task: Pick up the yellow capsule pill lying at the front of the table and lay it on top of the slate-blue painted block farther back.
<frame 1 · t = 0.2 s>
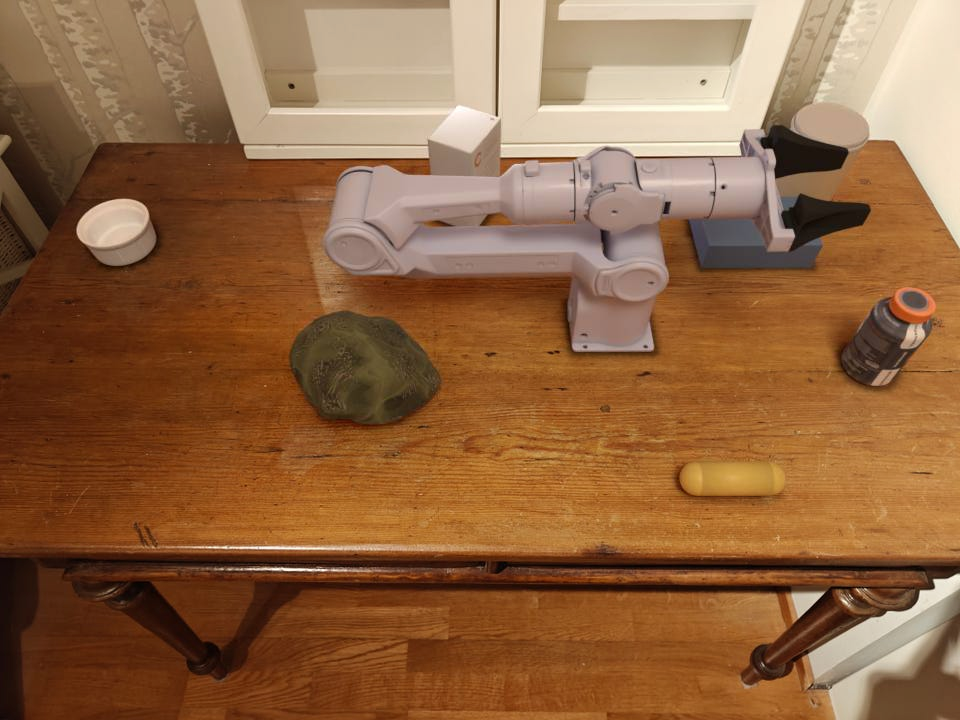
hand: (854, 185, 66), 21 cm above the table, tool horizontal, fingers open, 7 cm apart
block: (748, 243, 92), on the table
ramekin: (127, 247, 93), on the table
yellow capsule pill: (732, 478, 70), point 2 cm above the table
decorative rock: (367, 383, 79), on the table
coffee cup: (797, 198, 97), on the table
pill bottle: (866, 367, 80), on the table
small box: (467, 210, 96), on the table
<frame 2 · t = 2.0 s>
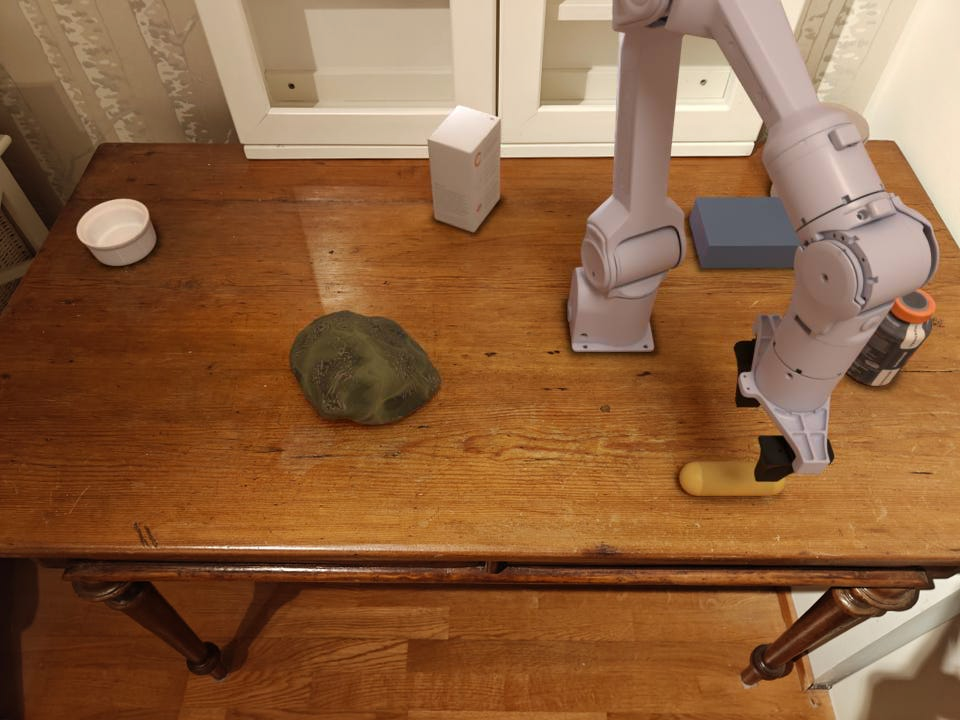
hand: (756, 440, 63), 9 cm above the table, tool pointing down, fingers open, 7 cm apart
nothing on the table moved.
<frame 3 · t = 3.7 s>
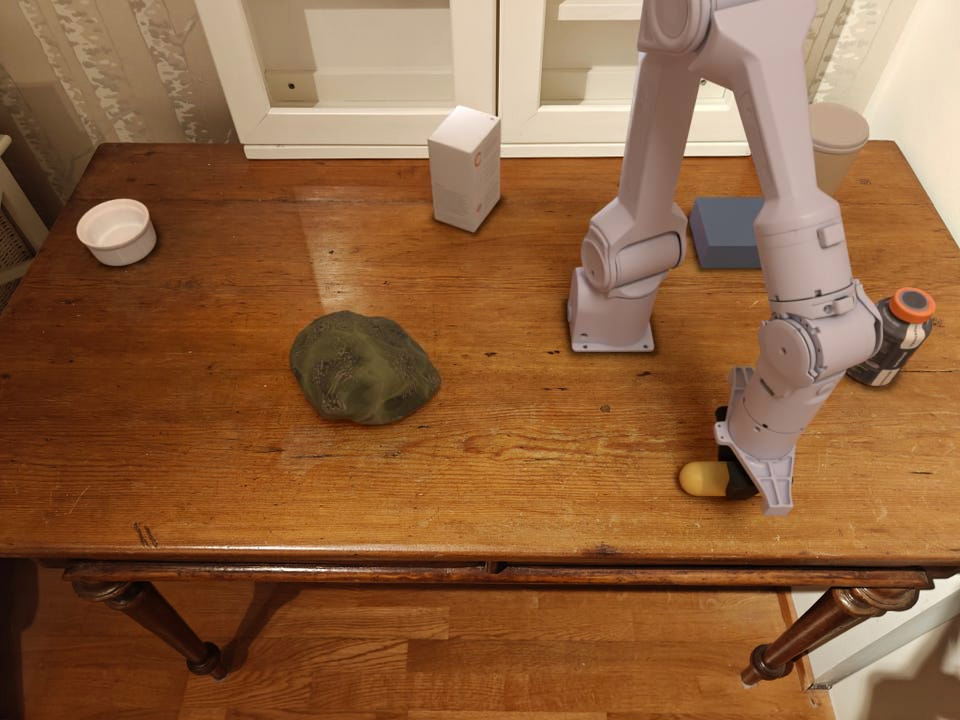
hand: (732, 478, 70), 2 cm above the table, tool pointing down, fingers closed on yellow capsule pill, 3 cm apart
yellow capsule pill: (732, 478, 70), point 2 cm above the table, touching gripper
everything else where it was.
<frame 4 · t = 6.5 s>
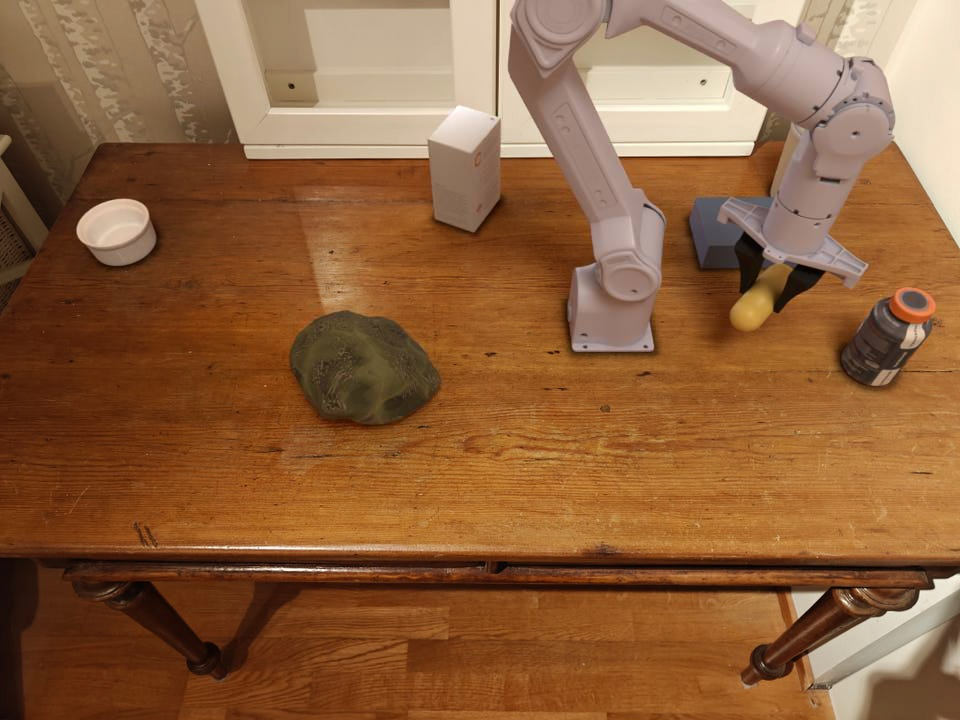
hand: (762, 297, 75), 8 cm above the table, tool pointing down, fingers closed on yellow capsule pill, 3 cm apart
yellow capsule pill: (763, 297, 75), point 8 cm above the table, touching gripper
everything else where it was.
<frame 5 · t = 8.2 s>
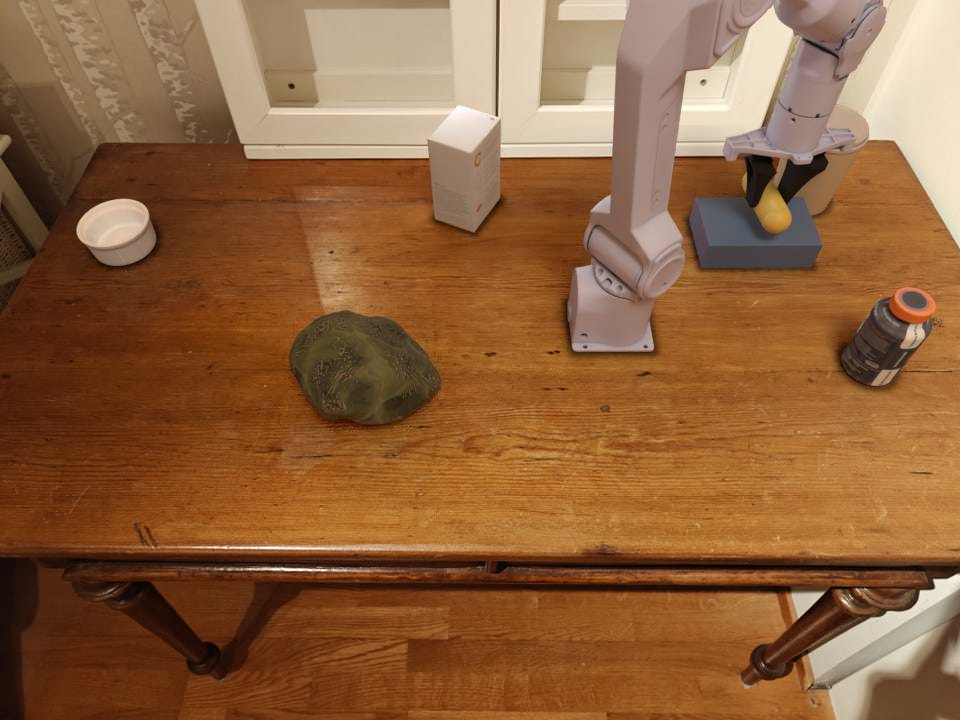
hand: (765, 201, 86), 7 cm above the table, tool pointing down, fingers closed on yellow capsule pill, 3 cm apart
yellow capsule pill: (766, 200, 86), point 7 cm above the table, touching gripper
everything else where it was.
when the fingers open (6 cm above the table, at t = 9.1 s): yellow capsule pill stays where it is, resting on block.
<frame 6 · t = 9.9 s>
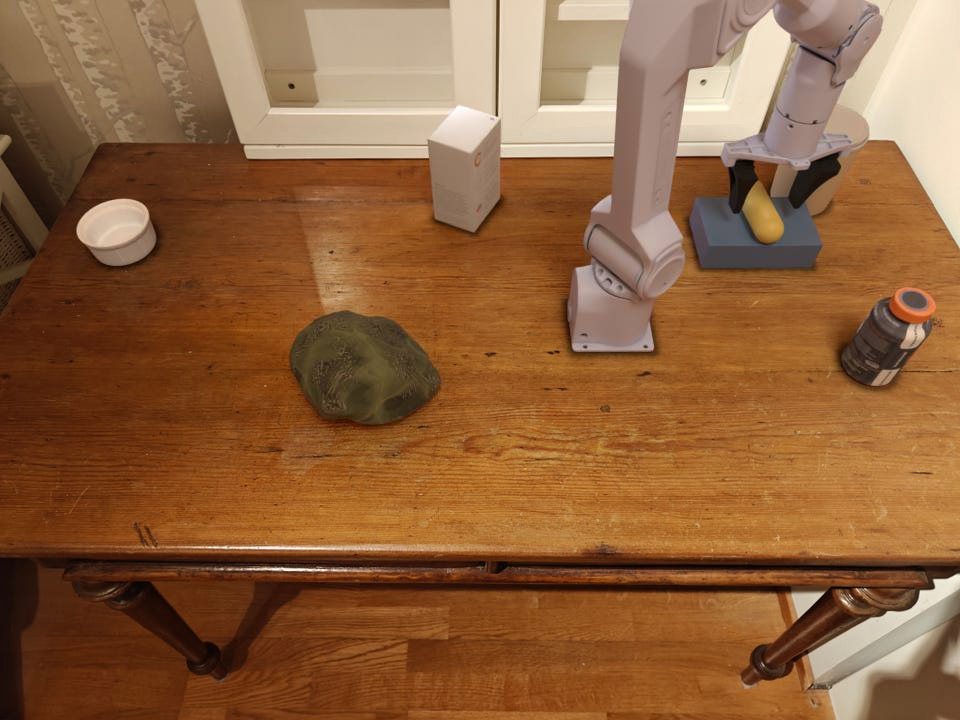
hand: (763, 205, 87), 6 cm above the table, tool pointing down, fingers open, 7 cm apart
yellow capsule pill: (759, 210, 87), point 6 cm above the table, tilted 13°, touching block
everything else where it was.
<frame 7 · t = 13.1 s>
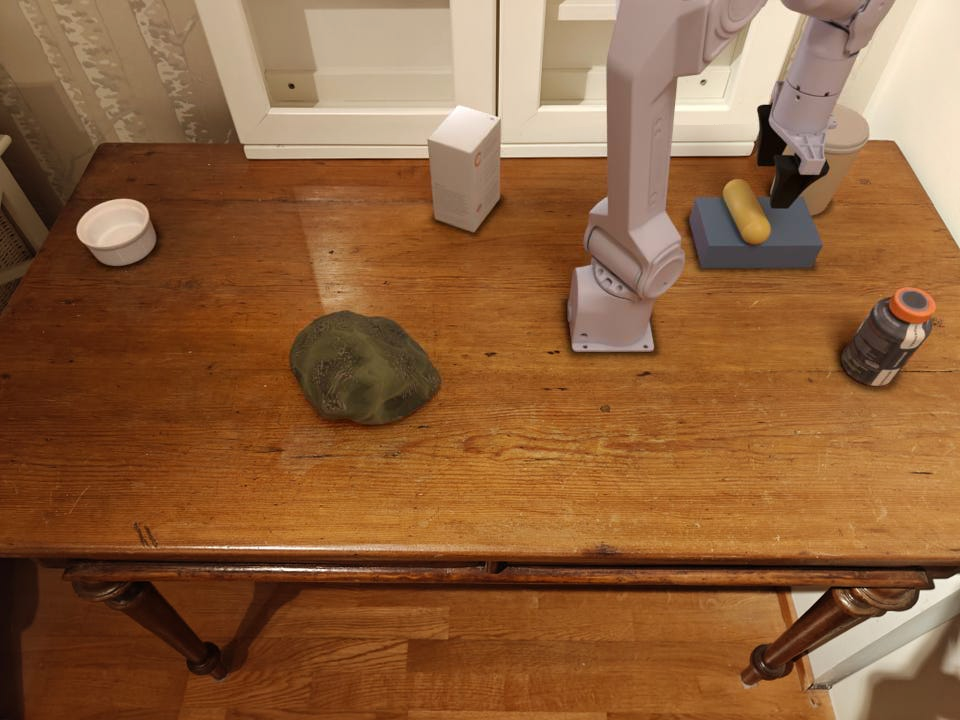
hand: (772, 185, 84), 10 cm above the table, tool pointing down, fingers open, 7 cm apart
yellow capsule pill: (746, 211, 87), point 6 cm above the table, tilted 69°, touching block
everything else where it was.
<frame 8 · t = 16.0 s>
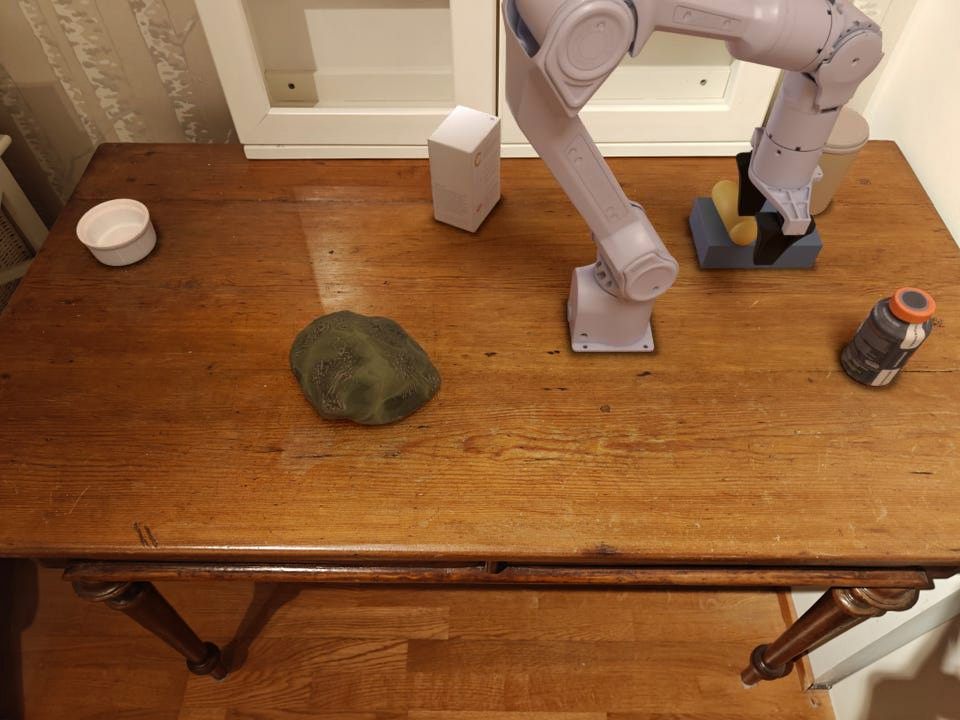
hand: (754, 237, 78), 10 cm above the table, tool pointing down, fingers open, 7 cm apart
yellow capsule pill: (734, 212, 87), point 6 cm above the table, tilted 120°, touching block
everything else where it was.
at the end: yellow capsule pill inside the target area on the block (3.6 cm from its centre), point 5.7 cm above the block's base; the gripper is holding nothing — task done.
